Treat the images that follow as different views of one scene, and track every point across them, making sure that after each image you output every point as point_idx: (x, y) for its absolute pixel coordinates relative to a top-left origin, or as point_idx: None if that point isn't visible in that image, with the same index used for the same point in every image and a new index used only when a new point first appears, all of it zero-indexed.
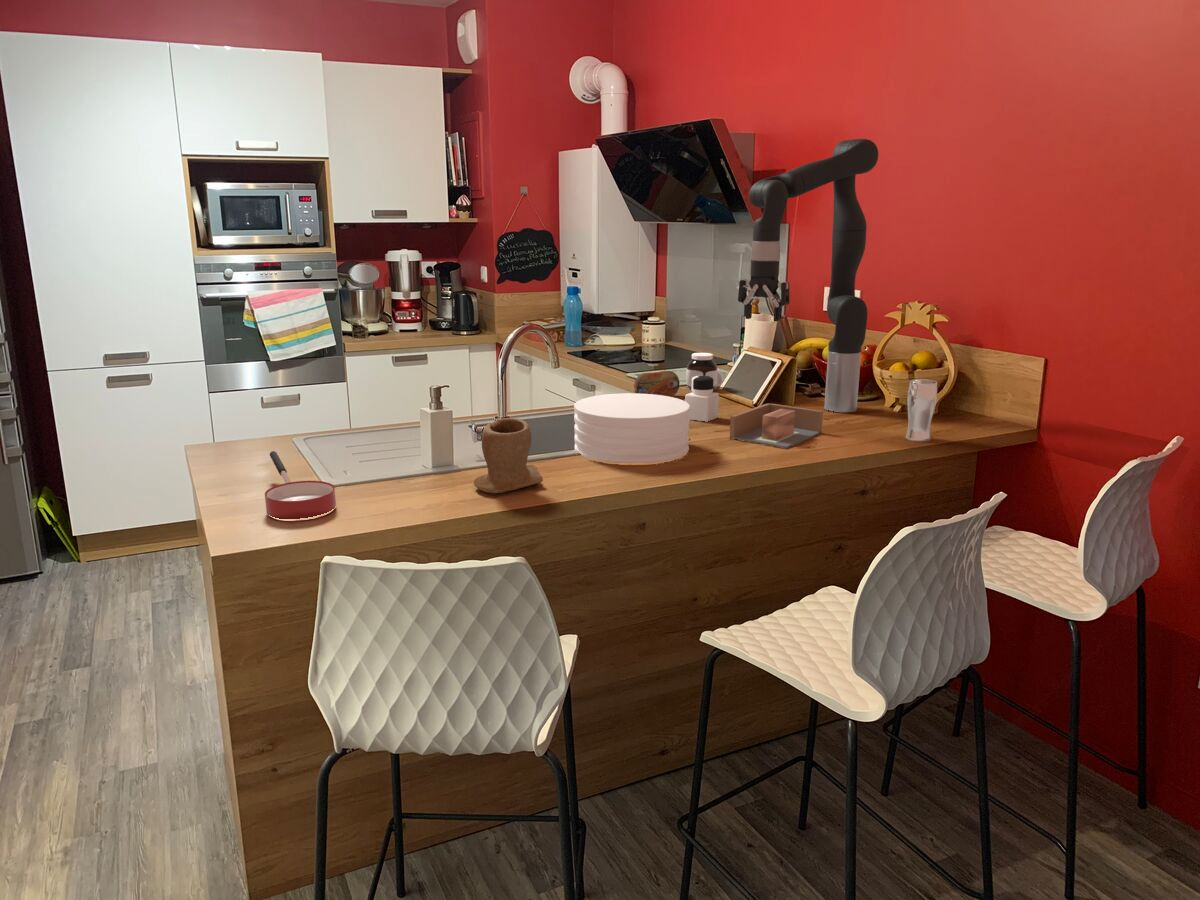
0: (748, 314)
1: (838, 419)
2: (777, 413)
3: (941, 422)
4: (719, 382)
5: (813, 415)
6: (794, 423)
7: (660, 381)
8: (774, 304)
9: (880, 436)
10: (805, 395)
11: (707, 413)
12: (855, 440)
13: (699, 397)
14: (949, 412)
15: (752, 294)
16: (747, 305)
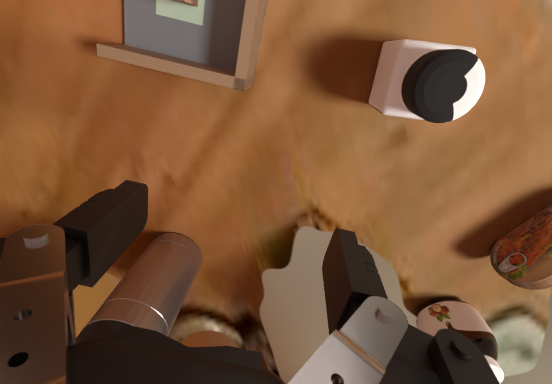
0: (337, 250)
1: (150, 186)
2: None
3: (12, 228)
4: None
5: (122, 48)
6: (179, 59)
7: (548, 250)
8: (60, 244)
9: (29, 84)
10: (259, 323)
11: (389, 42)
12: (46, 23)
13: (429, 42)
14: None
15: (311, 373)
16: (358, 291)
